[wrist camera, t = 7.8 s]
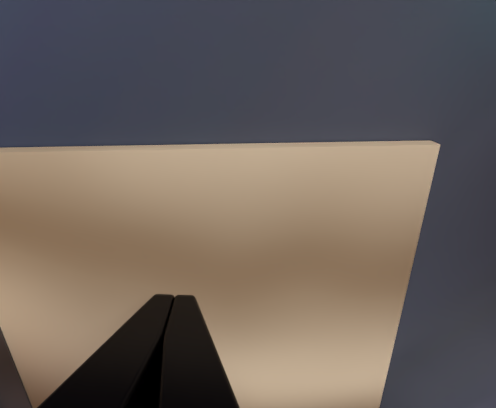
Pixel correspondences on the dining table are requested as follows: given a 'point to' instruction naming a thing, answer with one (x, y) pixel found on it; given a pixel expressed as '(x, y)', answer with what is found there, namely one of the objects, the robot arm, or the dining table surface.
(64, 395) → the robot arm
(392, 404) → the dining table surface
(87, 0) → the dining table surface
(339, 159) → the card
